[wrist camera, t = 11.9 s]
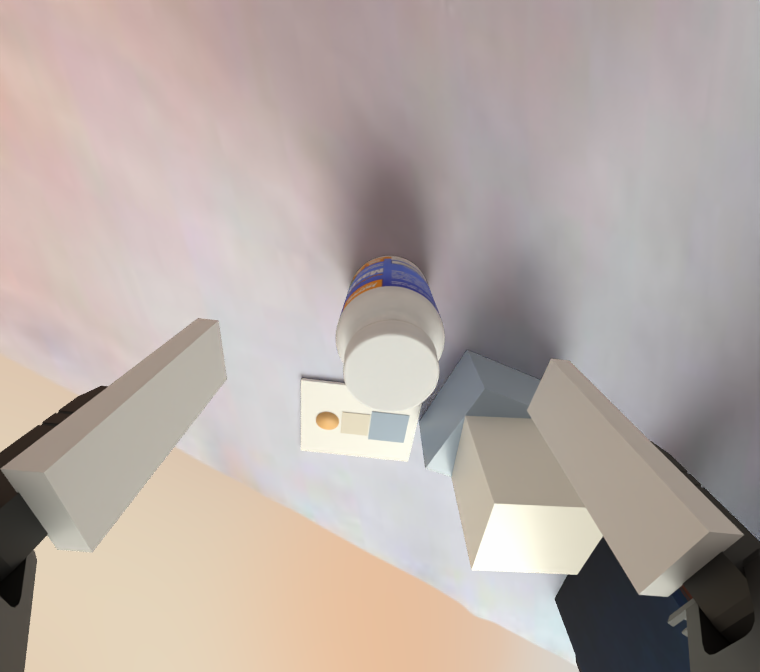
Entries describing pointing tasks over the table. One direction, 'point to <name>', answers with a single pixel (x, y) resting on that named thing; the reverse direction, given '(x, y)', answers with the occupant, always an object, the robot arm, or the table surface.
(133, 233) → the table surface
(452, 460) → the base block
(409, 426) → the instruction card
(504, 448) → the cream cube
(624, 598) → the book
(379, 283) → the pill bottle
